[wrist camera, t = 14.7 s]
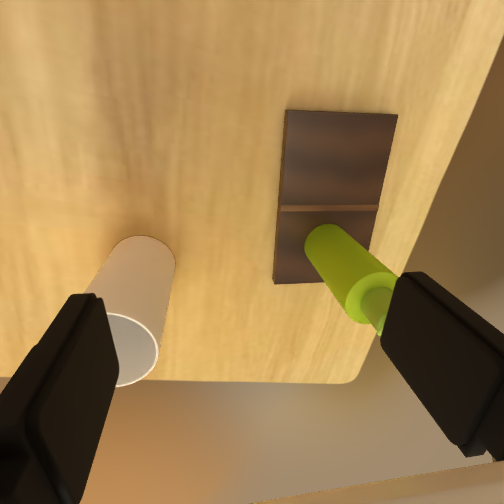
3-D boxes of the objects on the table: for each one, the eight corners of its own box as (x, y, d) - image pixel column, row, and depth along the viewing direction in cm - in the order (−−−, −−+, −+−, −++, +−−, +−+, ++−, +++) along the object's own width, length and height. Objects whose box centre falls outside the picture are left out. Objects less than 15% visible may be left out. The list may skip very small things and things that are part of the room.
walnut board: (284, 109, 34) (288, 109, 32) (391, 114, 36) (398, 114, 34) (272, 279, 43) (274, 284, 42) (357, 275, 45) (362, 281, 44)
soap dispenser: (319, 210, 38) (421, 299, 20) (355, 239, 41) (474, 341, 23) (289, 245, 40) (359, 357, 22) (325, 271, 42) (415, 390, 24)
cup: (184, 248, 39) (171, 327, 25) (164, 298, 42) (142, 395, 28) (119, 226, 37) (64, 299, 22) (102, 280, 40) (44, 377, 25)
